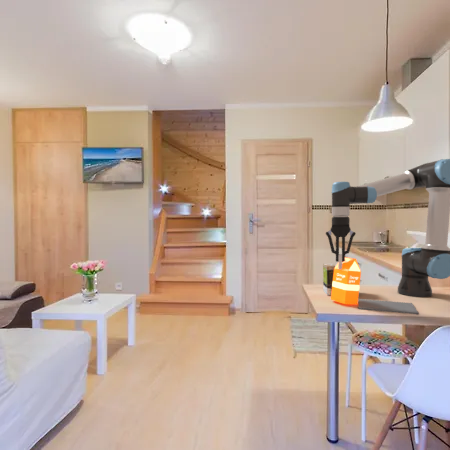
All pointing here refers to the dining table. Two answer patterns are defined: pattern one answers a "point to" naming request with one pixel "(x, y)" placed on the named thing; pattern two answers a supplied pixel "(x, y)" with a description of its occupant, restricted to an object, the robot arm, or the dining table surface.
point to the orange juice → (346, 282)
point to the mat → (387, 306)
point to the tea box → (328, 277)
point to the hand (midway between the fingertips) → (340, 268)
